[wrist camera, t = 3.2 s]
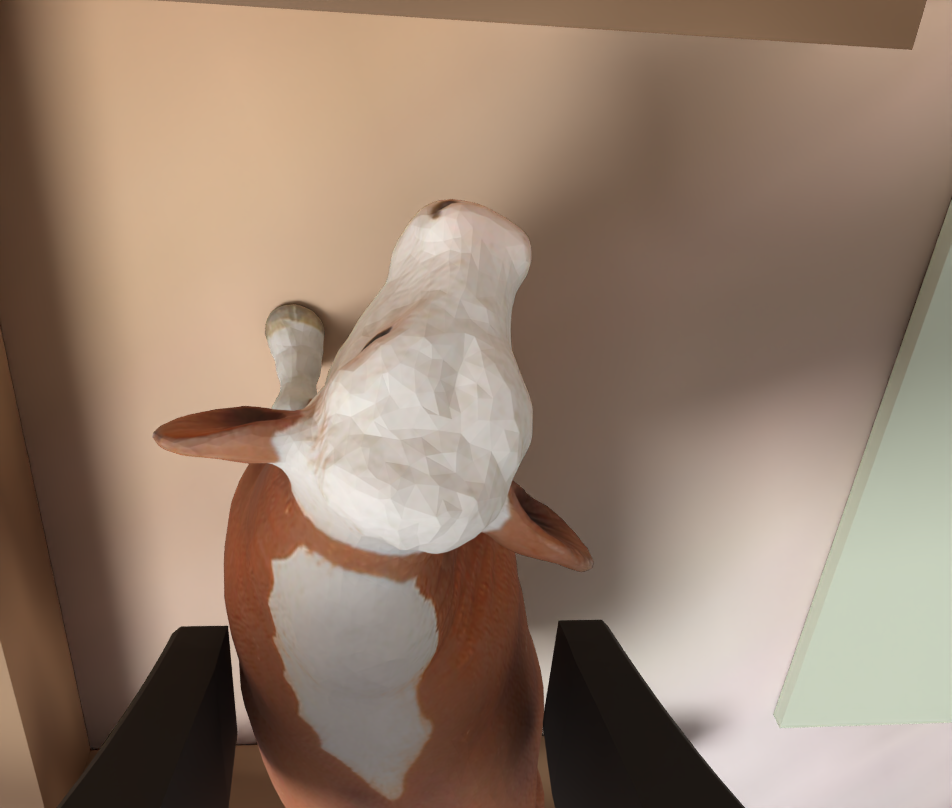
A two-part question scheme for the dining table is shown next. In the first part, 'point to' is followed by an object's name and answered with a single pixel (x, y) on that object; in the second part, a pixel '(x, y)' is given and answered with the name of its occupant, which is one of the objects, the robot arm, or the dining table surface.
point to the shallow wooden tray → (4, 451)
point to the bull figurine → (392, 537)
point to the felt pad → (891, 549)
